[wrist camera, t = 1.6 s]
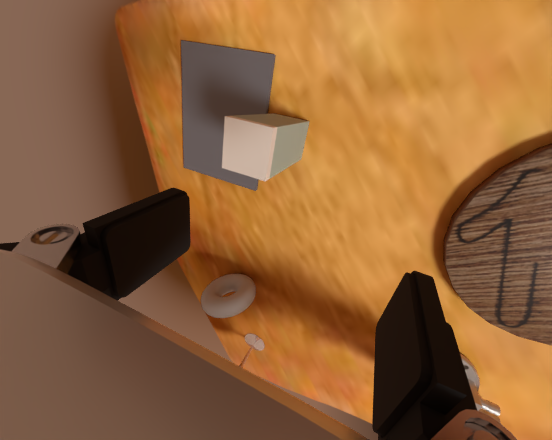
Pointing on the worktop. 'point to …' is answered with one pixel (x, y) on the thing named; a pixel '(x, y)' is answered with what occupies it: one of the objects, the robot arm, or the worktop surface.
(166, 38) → the worktop surface
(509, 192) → the trivet
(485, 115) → the worktop surface
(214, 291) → the donut
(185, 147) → the charcoal mat
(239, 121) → the sage block
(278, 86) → the worktop surface
